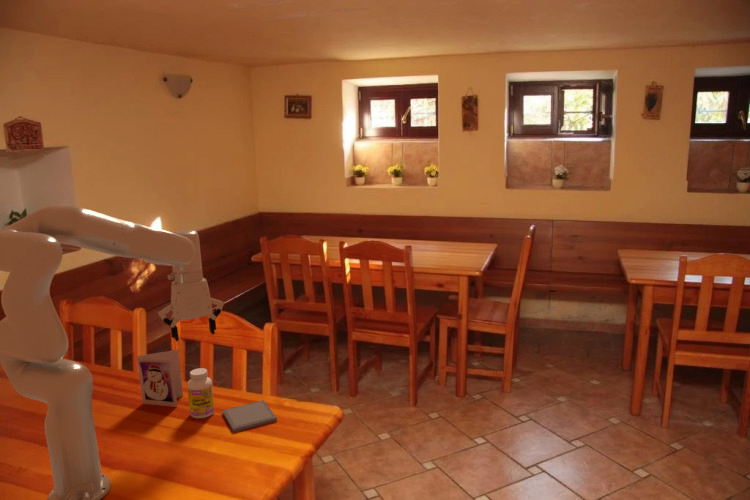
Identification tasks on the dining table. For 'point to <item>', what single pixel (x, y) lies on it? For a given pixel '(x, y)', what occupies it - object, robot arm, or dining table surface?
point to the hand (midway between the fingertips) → (194, 336)
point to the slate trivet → (249, 416)
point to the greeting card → (160, 378)
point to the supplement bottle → (200, 394)
